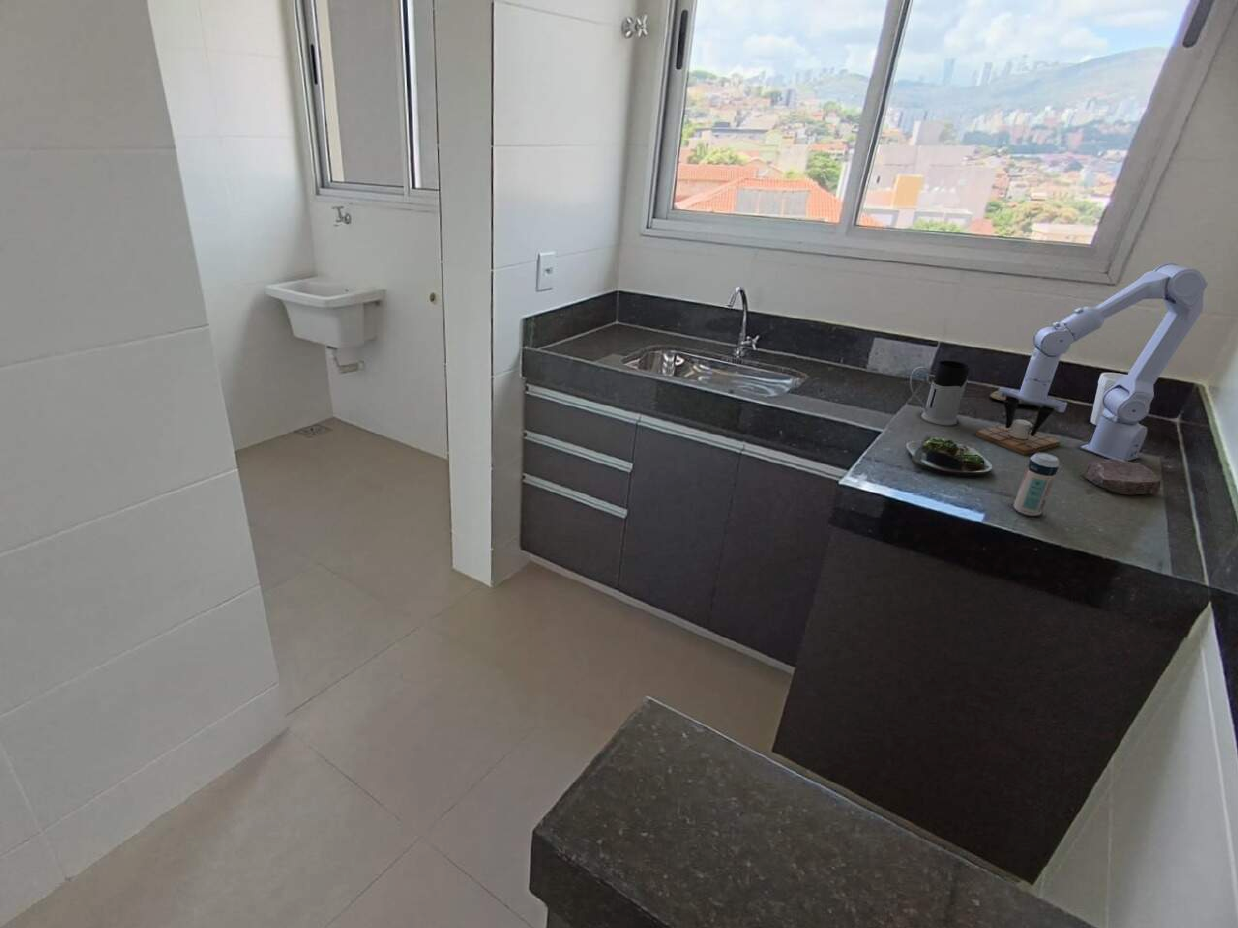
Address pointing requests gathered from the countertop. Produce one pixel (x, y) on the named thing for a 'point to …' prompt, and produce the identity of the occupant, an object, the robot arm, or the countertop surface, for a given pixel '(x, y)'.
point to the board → (1017, 440)
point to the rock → (994, 396)
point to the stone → (1123, 477)
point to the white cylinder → (1020, 429)
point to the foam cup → (1104, 384)
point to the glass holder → (944, 392)
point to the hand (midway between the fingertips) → (1020, 430)
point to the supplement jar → (1036, 484)
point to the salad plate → (948, 458)
